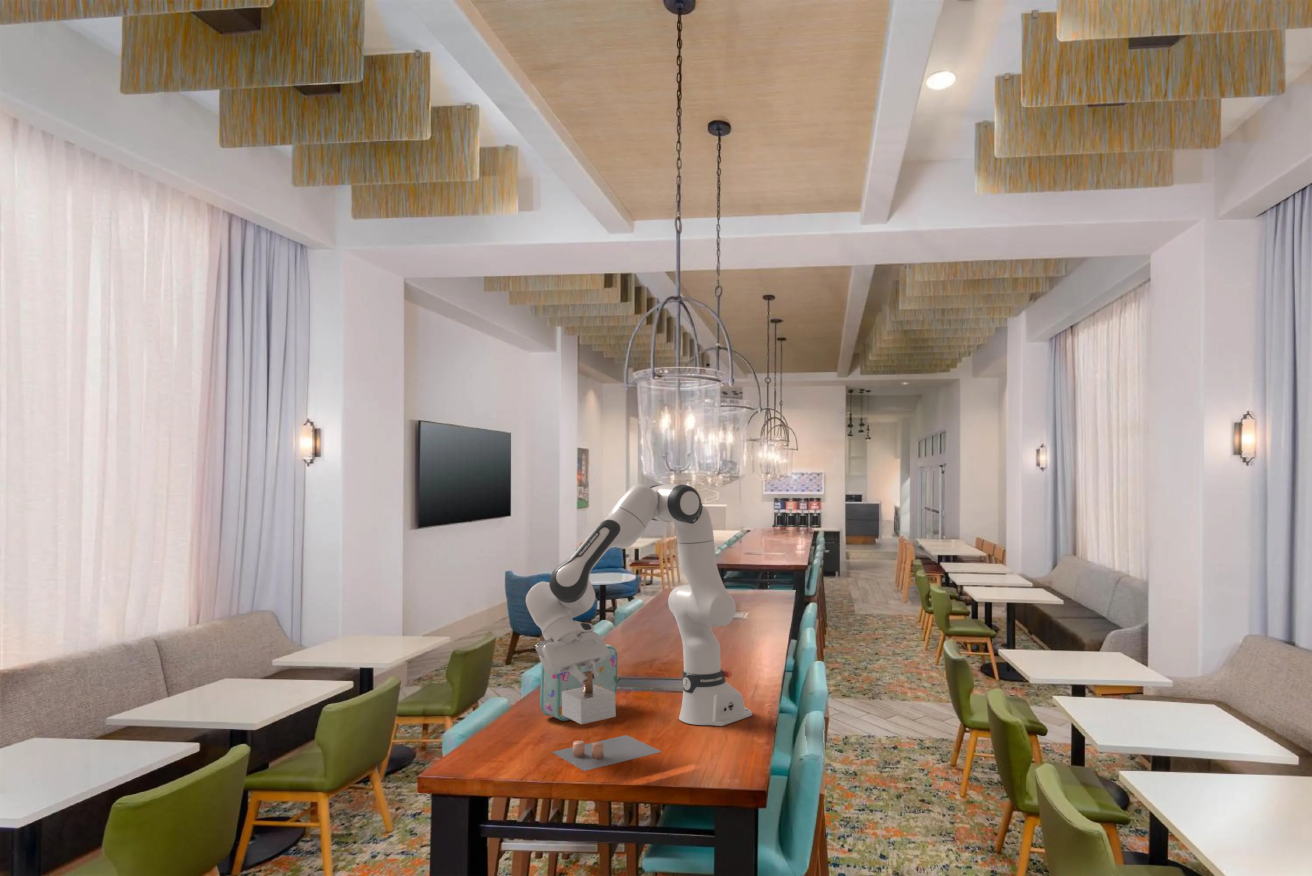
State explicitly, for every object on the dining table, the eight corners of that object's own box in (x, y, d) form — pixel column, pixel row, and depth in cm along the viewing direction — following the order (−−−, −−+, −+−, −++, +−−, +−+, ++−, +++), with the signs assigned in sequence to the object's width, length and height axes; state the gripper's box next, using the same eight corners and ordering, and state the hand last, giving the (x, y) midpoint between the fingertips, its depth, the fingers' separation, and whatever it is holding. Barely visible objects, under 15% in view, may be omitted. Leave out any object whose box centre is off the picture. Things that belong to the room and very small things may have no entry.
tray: (626, 739, 221) (626, 723, 221) (662, 756, 207) (661, 739, 207) (551, 756, 208) (551, 739, 208) (584, 776, 194) (584, 757, 194)
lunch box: (598, 700, 261) (597, 633, 262) (621, 705, 254) (620, 637, 255) (536, 720, 240) (536, 647, 241) (560, 726, 234) (560, 651, 235)
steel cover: (595, 707, 212) (595, 665, 212) (615, 716, 204) (614, 672, 204) (562, 714, 206) (561, 671, 207) (581, 724, 198) (580, 679, 198)
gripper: (538, 635, 203) (565, 680, 196) (596, 622, 218) (623, 664, 211) (527, 651, 205) (553, 696, 198) (585, 637, 221) (611, 679, 214)
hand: (589, 679), depth 205 cm, fingers closed on steel cover, 2 cm apart
